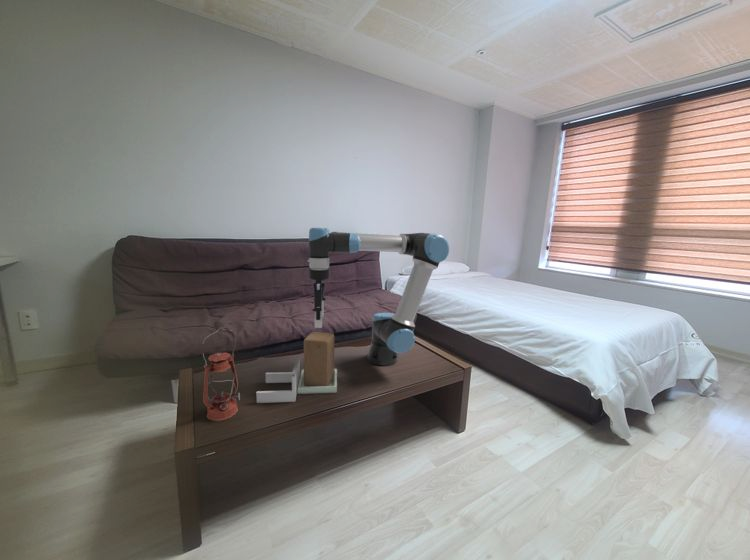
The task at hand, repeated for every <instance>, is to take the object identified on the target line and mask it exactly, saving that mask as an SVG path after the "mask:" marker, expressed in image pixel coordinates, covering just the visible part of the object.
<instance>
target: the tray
mask: <svg viewBox="0 0 750 560" xmlns="http://www.w3.org/2000/svg"><path fill="white" fill-rule="evenodd" d="M337 393H338V368H334V377H333V379H332V381H331V382H330V384H329V386H308V387H307V386H304V369H301V370H300V380H299V384H298V388H297V395H313V394H337Z"/></svg>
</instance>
